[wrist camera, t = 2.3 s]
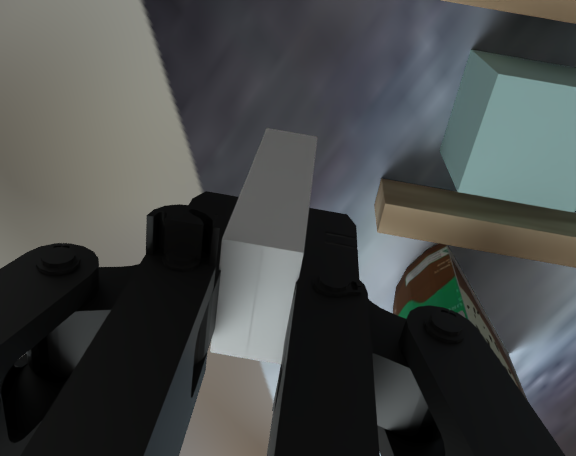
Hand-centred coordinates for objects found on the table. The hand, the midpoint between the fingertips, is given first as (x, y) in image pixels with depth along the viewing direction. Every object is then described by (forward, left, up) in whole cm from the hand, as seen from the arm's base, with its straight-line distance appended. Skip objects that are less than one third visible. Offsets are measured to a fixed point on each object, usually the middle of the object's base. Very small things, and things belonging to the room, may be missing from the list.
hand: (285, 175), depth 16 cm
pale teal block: (0, +10, -11) cm, 15 cm away
